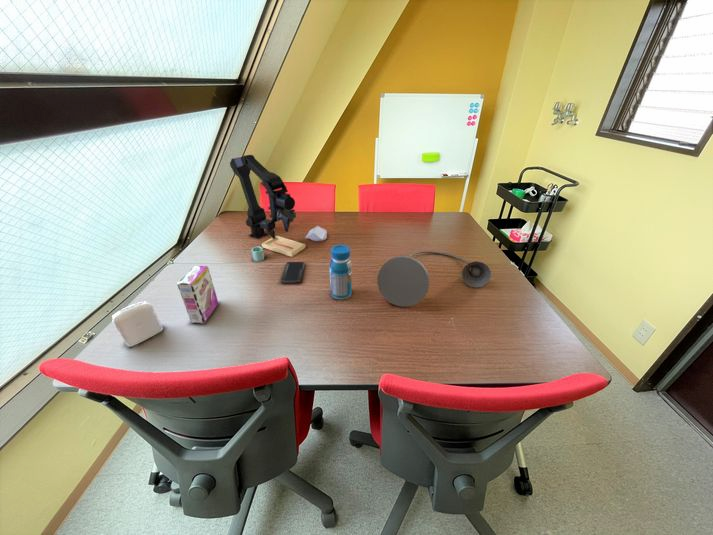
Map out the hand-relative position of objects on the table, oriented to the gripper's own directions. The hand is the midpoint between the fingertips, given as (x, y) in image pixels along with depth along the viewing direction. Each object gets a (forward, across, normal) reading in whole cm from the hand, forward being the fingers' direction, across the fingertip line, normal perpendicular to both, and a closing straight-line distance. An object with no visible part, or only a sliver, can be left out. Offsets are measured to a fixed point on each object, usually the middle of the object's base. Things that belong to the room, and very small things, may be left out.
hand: (280, 235), depth 140 cm
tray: (+6, 0, -1) cm, 7 cm away
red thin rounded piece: (+6, 0, -1) cm, 6 cm away
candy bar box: (+7, -51, -9) cm, 52 cm away
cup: (+6, -14, +2) cm, 16 cm away
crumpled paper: (+7, +16, -10) cm, 20 cm away
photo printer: (+7, -68, -2) cm, 68 cm away
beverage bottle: (+7, -18, -45) cm, 49 cm away
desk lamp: (+7, +10, -75) cm, 76 cm away
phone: (+6, -16, -20) cm, 26 cm away
